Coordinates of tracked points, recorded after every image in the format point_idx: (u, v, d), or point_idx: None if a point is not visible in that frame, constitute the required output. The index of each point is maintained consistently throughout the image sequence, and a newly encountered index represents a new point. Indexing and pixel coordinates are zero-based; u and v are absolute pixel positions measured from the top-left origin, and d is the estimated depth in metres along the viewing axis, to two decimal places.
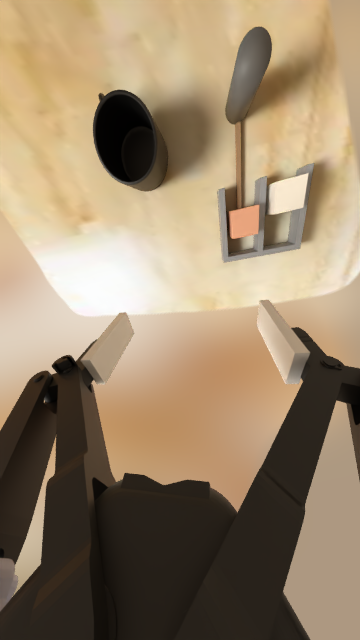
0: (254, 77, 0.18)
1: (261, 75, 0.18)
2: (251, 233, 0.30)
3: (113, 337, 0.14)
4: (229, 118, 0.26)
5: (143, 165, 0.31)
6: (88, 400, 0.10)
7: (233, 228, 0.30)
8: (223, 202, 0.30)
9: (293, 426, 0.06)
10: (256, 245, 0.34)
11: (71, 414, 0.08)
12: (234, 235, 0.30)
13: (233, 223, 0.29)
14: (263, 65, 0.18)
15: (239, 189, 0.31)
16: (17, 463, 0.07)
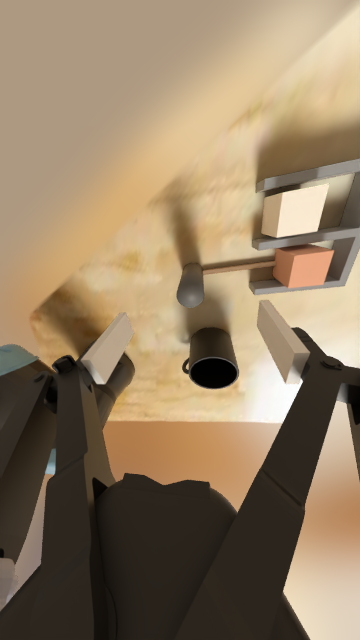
0: (201, 293, 0.21)
1: (200, 287, 0.20)
2: (328, 260, 0.21)
3: (113, 337, 0.14)
4: None
5: None
6: (88, 400, 0.10)
7: (309, 285, 0.23)
8: (268, 289, 0.26)
9: (293, 426, 0.06)
10: None
11: (71, 414, 0.08)
12: (319, 283, 0.22)
13: (303, 285, 0.23)
14: (195, 287, 0.20)
15: (256, 265, 0.27)
16: (17, 463, 0.07)
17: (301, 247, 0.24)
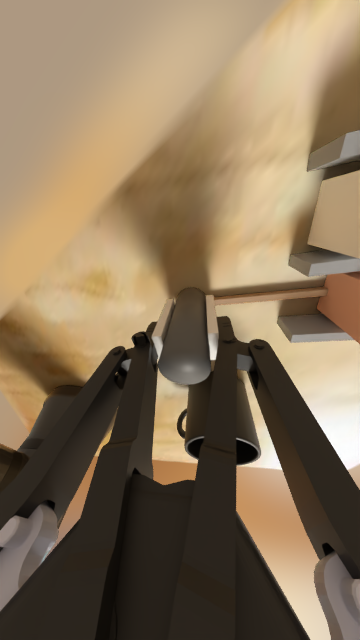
0: (205, 366, 0.11)
1: (204, 357, 0.10)
2: None
3: (169, 320, 0.15)
4: None
5: None
6: (150, 381, 0.10)
7: None
8: (315, 336, 0.16)
9: (217, 397, 0.08)
10: None
11: (134, 390, 0.09)
12: None
13: None
14: (194, 356, 0.10)
15: (293, 295, 0.17)
16: (81, 430, 0.08)
17: None
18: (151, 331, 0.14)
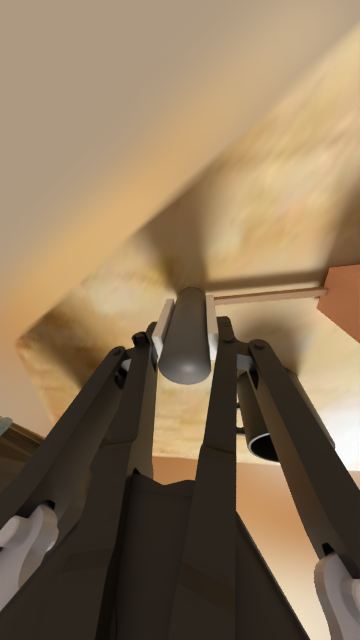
0: (205, 366, 0.11)
1: (204, 357, 0.10)
2: None
3: (169, 320, 0.15)
4: None
5: None
6: (150, 381, 0.10)
7: None
8: None
9: (216, 397, 0.08)
10: None
11: (134, 390, 0.09)
12: None
13: None
14: (194, 356, 0.10)
15: (293, 295, 0.17)
16: (81, 430, 0.08)
17: None
18: (151, 331, 0.14)
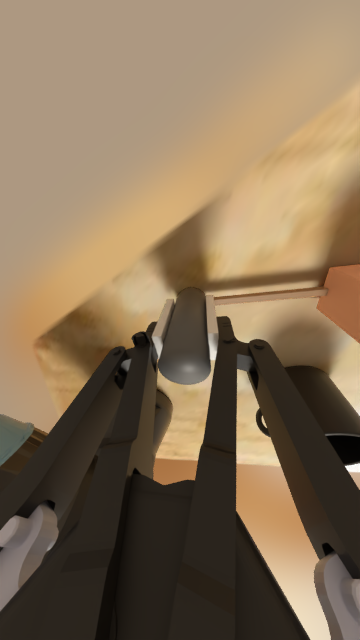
0: (205, 366, 0.11)
1: (204, 357, 0.10)
2: None
3: (169, 320, 0.15)
4: None
5: None
6: (150, 381, 0.10)
7: None
8: None
9: (217, 397, 0.08)
10: None
11: (134, 390, 0.09)
12: None
13: None
14: (194, 356, 0.10)
15: (293, 295, 0.17)
16: (81, 430, 0.08)
17: None
18: (151, 331, 0.14)
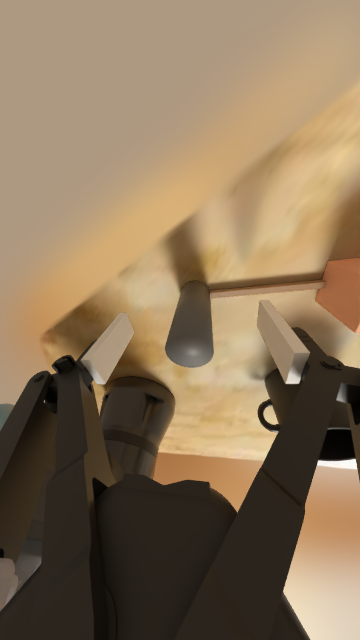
0: (208, 349, 0.12)
1: (208, 341, 0.11)
2: None
3: (113, 337, 0.14)
4: None
5: None
6: (88, 400, 0.10)
7: None
8: None
9: (293, 426, 0.06)
10: None
11: (71, 414, 0.08)
12: None
13: None
14: (198, 340, 0.11)
15: (292, 287, 0.17)
16: (17, 463, 0.07)
17: None
18: None
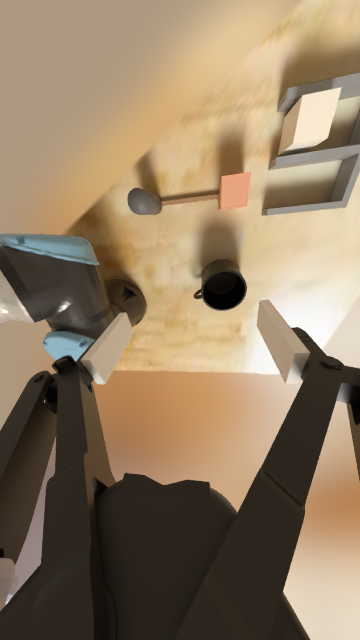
0: (146, 199, 0.26)
1: (145, 194, 0.26)
2: (248, 181, 0.27)
3: (113, 337, 0.14)
4: (159, 211, 0.35)
5: (223, 279, 0.41)
6: (88, 400, 0.10)
7: (236, 206, 0.29)
8: (279, 209, 0.30)
9: (293, 426, 0.06)
10: (346, 156, 0.26)
11: (71, 414, 0.08)
12: (244, 204, 0.28)
13: (232, 206, 0.29)
14: (141, 193, 0.26)
15: (203, 197, 0.33)
16: (17, 463, 0.07)
17: None
18: None
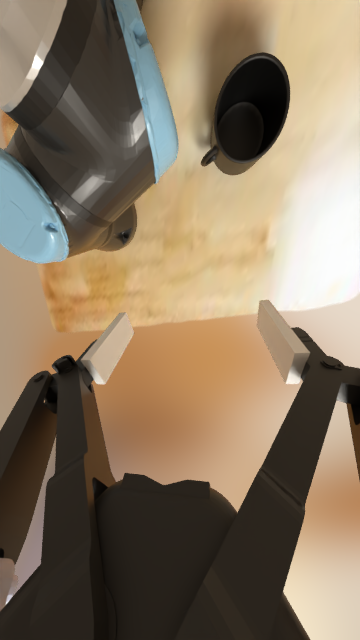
0: None
1: None
2: None
3: (113, 337, 0.14)
4: (138, 3, 0.22)
5: (243, 140, 0.28)
6: (88, 400, 0.10)
7: None
8: None
9: (293, 426, 0.06)
10: None
11: (71, 414, 0.08)
12: None
13: None
14: None
15: None
16: (17, 463, 0.07)
17: None
18: None
